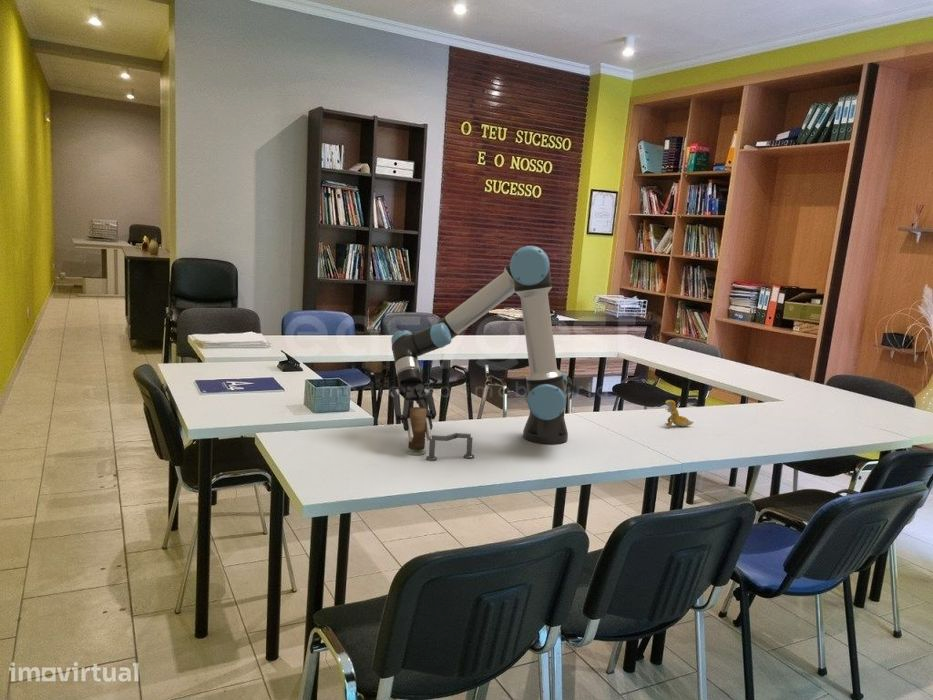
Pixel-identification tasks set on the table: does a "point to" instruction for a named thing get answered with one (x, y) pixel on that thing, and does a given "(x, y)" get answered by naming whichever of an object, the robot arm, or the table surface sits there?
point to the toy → (676, 416)
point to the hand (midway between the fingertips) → (420, 438)
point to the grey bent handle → (447, 438)
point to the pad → (416, 452)
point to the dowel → (418, 428)
